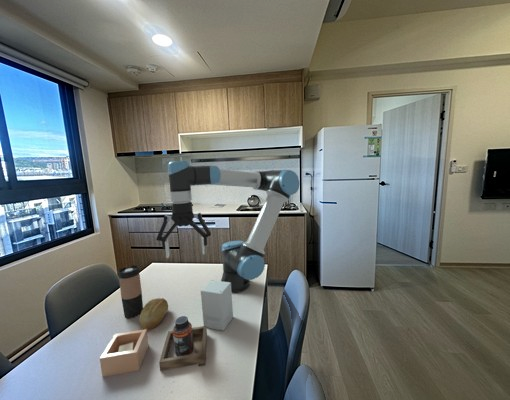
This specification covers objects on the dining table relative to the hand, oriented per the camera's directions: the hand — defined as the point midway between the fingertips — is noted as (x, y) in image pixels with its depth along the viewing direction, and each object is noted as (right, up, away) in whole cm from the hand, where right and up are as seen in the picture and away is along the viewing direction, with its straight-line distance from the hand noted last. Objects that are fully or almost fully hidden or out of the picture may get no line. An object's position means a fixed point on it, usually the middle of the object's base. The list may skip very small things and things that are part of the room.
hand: (186, 255), depth 89 cm
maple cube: (-14, -29, -17) cm, 36 cm away
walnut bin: (+4, -29, -14) cm, 32 cm away
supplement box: (+13, -27, 0) cm, 30 cm away
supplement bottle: (+4, -28, -14) cm, 32 cm away
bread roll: (-13, -27, +3) cm, 31 cm away
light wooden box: (-14, -30, -17) cm, 37 cm away
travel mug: (-25, -27, +8) cm, 38 cm away
